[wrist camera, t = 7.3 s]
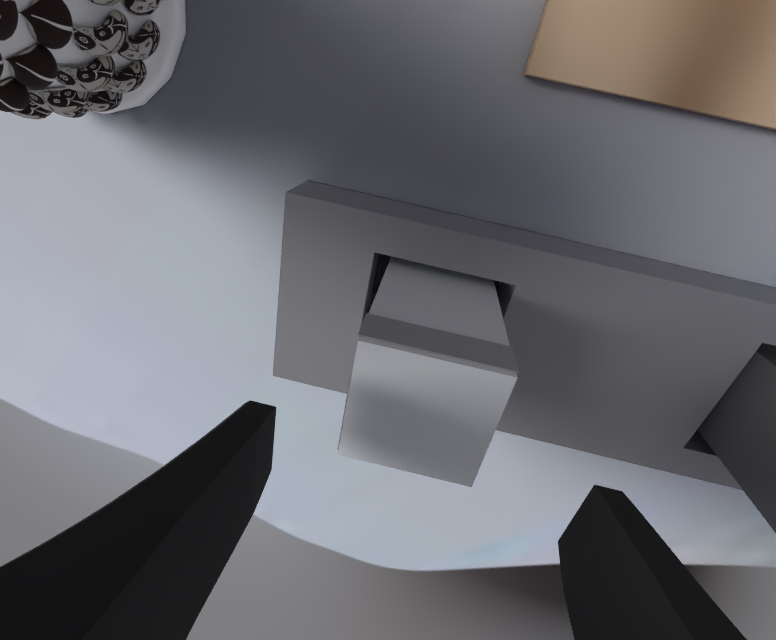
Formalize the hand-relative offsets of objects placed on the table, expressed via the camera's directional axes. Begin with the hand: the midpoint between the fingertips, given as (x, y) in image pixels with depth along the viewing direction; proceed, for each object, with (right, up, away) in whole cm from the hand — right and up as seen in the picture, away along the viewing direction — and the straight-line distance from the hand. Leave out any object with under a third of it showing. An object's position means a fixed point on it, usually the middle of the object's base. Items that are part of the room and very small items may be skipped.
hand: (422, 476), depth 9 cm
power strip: (+8, +3, +9) cm, 12 cm away
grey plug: (+1, +5, +9) cm, 10 cm away
